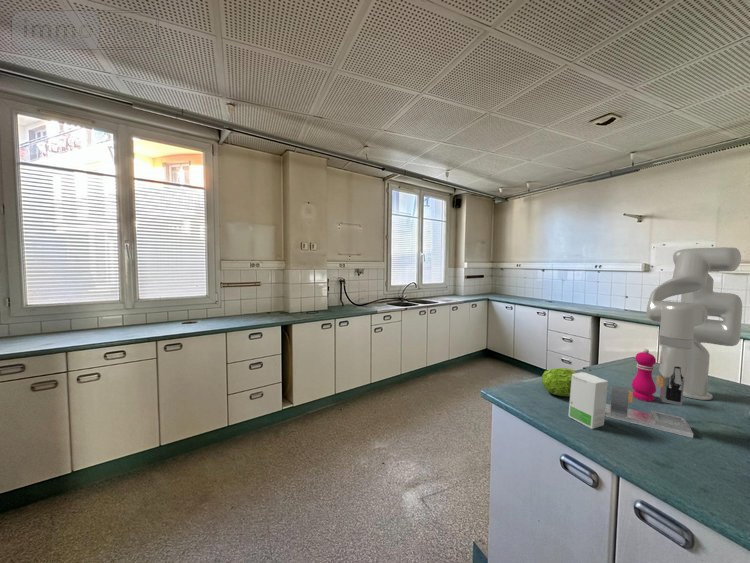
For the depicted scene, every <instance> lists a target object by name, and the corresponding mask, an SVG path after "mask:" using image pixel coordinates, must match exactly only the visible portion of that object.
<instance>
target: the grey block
mask: <svg viewBox="0 0 750 563" xmlns="http://www.w3.org/2000/svg"><path fill="white" fill-rule="evenodd" d="M671 378H673V379H674V377H672V376H671ZM671 382H674V381H673V380H671ZM671 384H672V383H671ZM656 385H657V387H659V388H660V392H659V394H660V395H659V396H660V399H661V401H662V403H666V404H671V405H676V406H683V401H684V396H683V389H684V381H682V380H681V402H676V401H671V400H667V399H666V392H667V387H668V377H667V378H664V377H663V376H662V375H660V374H657V375H656Z"/></svg>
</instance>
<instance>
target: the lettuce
mask: <svg viewBox="0 0 750 563" xmlns="http://www.w3.org/2000/svg"><path fill="white" fill-rule="evenodd" d="M576 373H578V371H577V372H576V370H573V369H571V368H567V367H559V368H556V367H555V368H551V369H547V370H544V372H543V374H541V383H542V386H543V388H544V389H545V390H546V392H547V393H549V394H552V395H555V396H558V397H570V392H571V380H572V374H576Z"/></svg>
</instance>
